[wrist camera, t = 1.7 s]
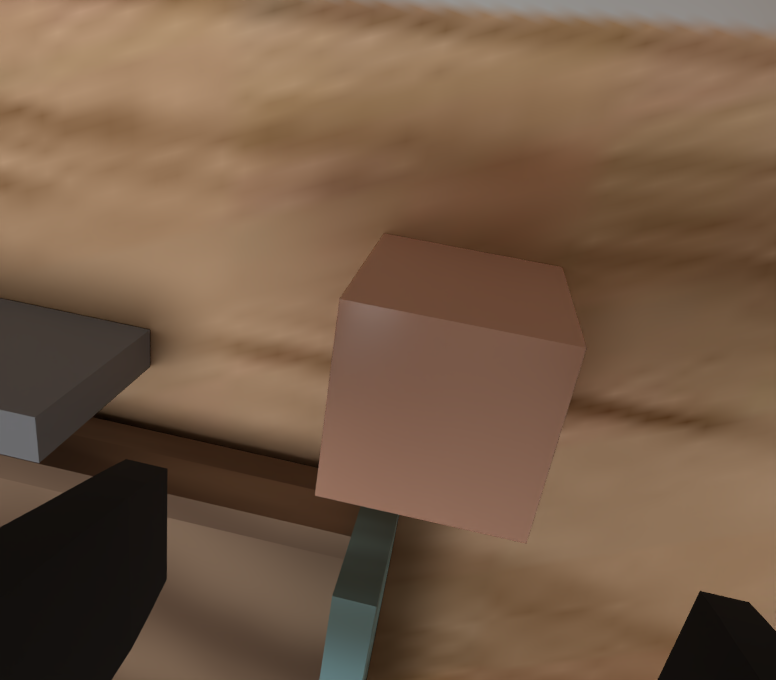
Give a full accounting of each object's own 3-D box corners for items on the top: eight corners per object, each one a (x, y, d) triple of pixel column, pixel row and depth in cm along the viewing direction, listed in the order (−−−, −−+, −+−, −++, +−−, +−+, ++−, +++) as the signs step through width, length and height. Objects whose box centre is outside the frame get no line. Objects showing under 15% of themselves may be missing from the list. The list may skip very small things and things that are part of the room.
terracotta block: (519, 420, 18) (526, 543, 13) (361, 387, 18) (314, 495, 14) (562, 266, 16) (586, 348, 11) (384, 232, 16) (339, 298, 12)
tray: (351, 756, 24) (316, 918, 19) (-67, 646, 25) (-191, 773, 21) (407, 473, 19) (376, 606, 14) (-128, 354, 20) (-312, 439, 15)
